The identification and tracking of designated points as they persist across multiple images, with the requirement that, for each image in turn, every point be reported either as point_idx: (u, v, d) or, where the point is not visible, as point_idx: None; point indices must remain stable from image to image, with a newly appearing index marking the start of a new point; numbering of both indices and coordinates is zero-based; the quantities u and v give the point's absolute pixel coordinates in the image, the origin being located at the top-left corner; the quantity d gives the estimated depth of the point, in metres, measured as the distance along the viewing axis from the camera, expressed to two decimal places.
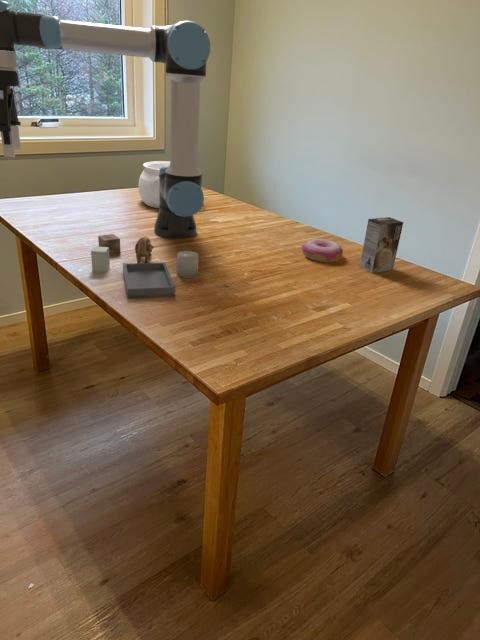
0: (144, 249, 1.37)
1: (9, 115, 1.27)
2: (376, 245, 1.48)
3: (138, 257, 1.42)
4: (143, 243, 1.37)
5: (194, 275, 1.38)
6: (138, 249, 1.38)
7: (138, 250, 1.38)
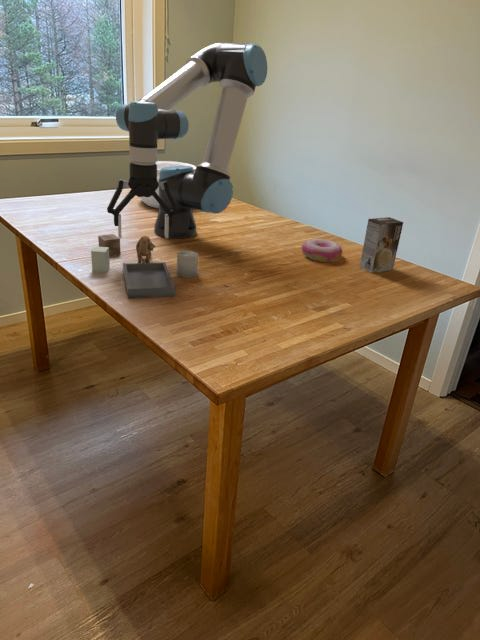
0: (145, 248, 1.38)
1: (123, 202, 1.34)
2: (376, 245, 1.48)
3: (139, 256, 1.42)
4: (144, 242, 1.37)
5: (194, 275, 1.38)
6: (139, 248, 1.39)
7: (139, 249, 1.39)
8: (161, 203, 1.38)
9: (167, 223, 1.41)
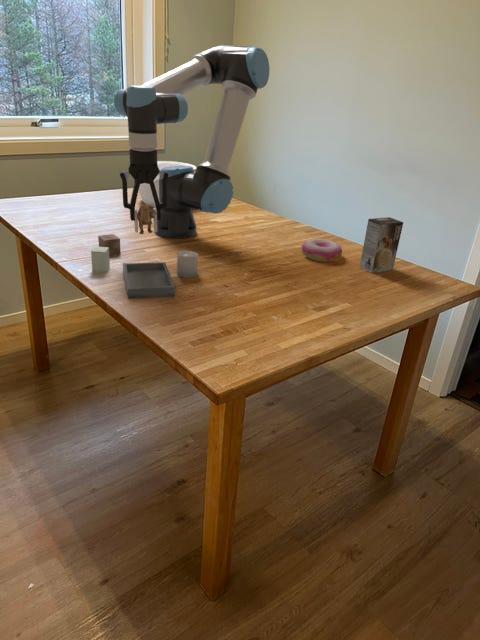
0: (147, 216, 1.35)
1: (133, 194, 1.35)
2: (376, 245, 1.48)
3: (141, 225, 1.39)
4: (145, 210, 1.34)
5: (194, 275, 1.38)
6: (141, 216, 1.35)
7: (141, 218, 1.36)
8: (154, 193, 1.36)
9: (155, 217, 1.39)
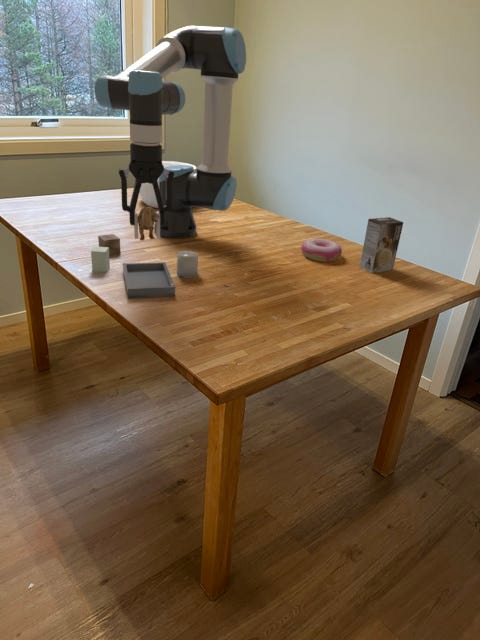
0: (149, 220, 1.18)
1: (133, 195, 1.18)
2: (376, 245, 1.48)
3: (142, 230, 1.22)
4: (147, 213, 1.17)
5: (194, 275, 1.38)
6: (142, 220, 1.18)
7: (142, 221, 1.19)
8: (157, 195, 1.20)
9: (158, 221, 1.23)
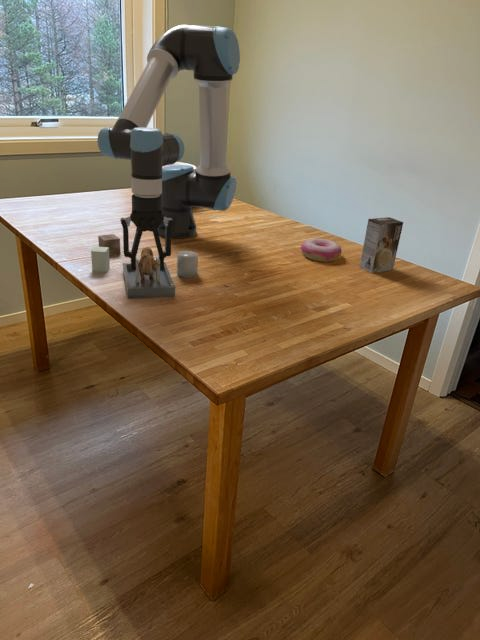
0: (150, 269, 1.23)
1: (134, 243, 1.23)
2: (376, 245, 1.48)
3: (142, 274, 1.28)
4: (148, 263, 1.22)
5: (194, 275, 1.38)
6: (143, 268, 1.24)
7: (143, 269, 1.24)
8: (158, 242, 1.25)
9: None
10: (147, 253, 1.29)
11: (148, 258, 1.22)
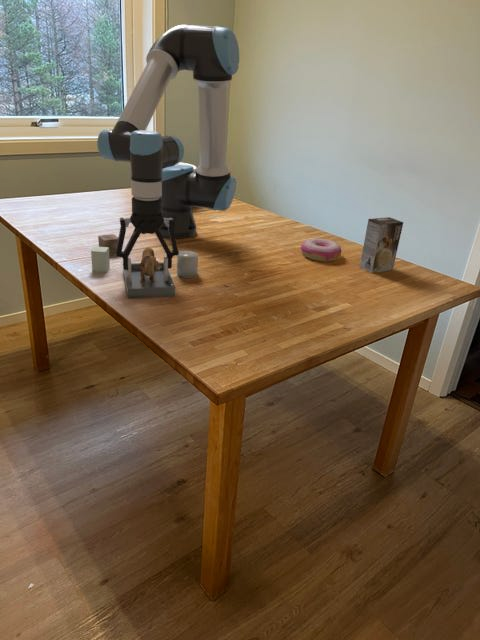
0: (151, 270, 1.23)
1: (129, 243, 1.23)
2: (376, 245, 1.48)
3: (143, 274, 1.28)
4: (150, 264, 1.23)
5: (194, 275, 1.38)
6: (144, 269, 1.24)
7: (144, 270, 1.24)
8: (162, 242, 1.26)
9: (166, 265, 1.29)
10: (149, 254, 1.29)
11: (151, 259, 1.23)
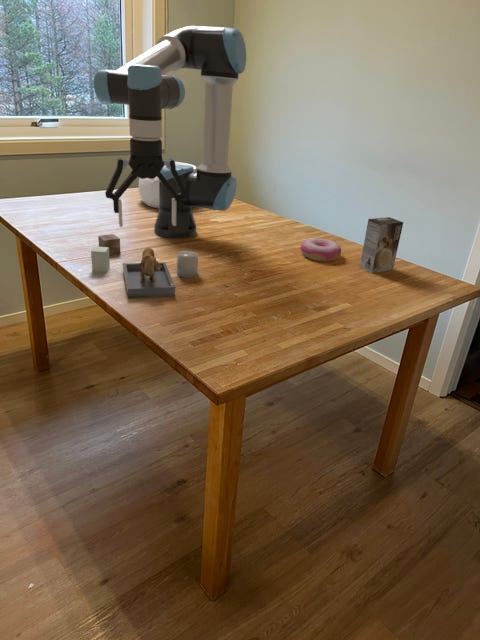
0: (151, 270, 1.23)
1: (123, 185, 1.16)
2: (376, 245, 1.48)
3: (143, 274, 1.28)
4: (150, 264, 1.23)
5: (194, 275, 1.38)
6: (144, 269, 1.24)
7: (144, 270, 1.24)
8: (167, 185, 1.19)
9: (174, 208, 1.22)
10: (149, 253, 1.29)
11: (151, 259, 1.23)
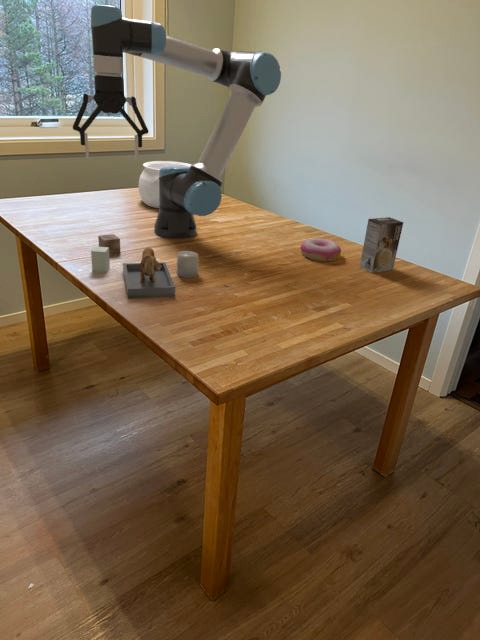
0: (151, 270, 1.23)
1: (88, 118, 1.29)
2: (376, 245, 1.48)
3: (143, 274, 1.28)
4: (150, 264, 1.23)
5: (194, 275, 1.38)
6: (144, 269, 1.24)
7: (144, 270, 1.24)
8: (129, 120, 1.32)
9: (136, 143, 1.35)
10: (149, 253, 1.29)
11: (151, 259, 1.23)
